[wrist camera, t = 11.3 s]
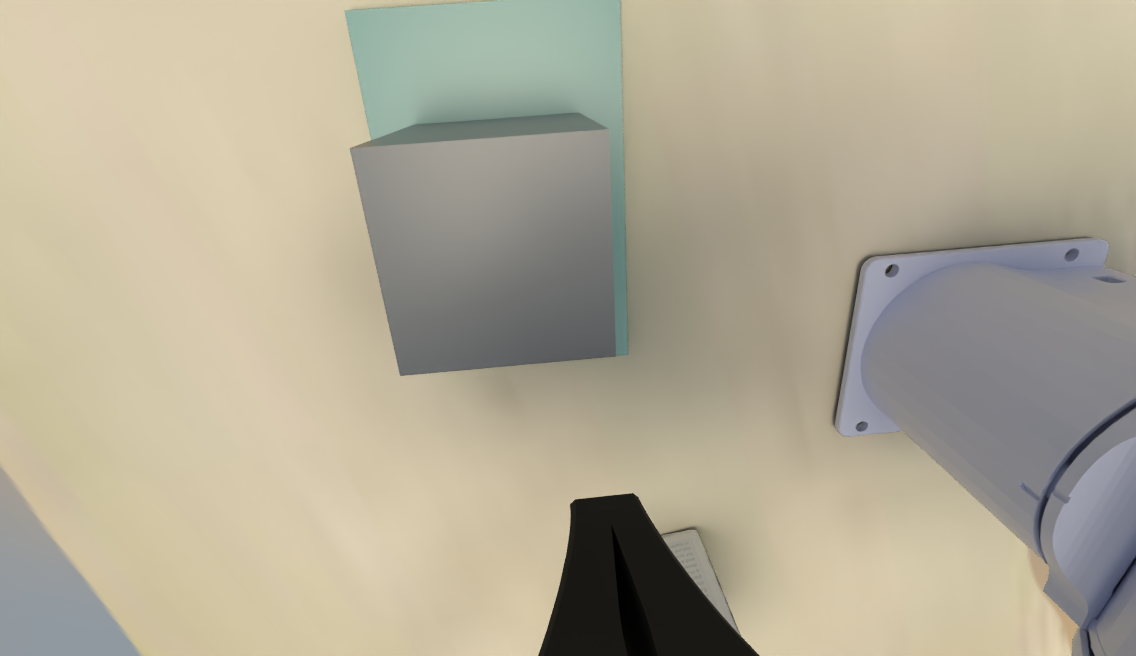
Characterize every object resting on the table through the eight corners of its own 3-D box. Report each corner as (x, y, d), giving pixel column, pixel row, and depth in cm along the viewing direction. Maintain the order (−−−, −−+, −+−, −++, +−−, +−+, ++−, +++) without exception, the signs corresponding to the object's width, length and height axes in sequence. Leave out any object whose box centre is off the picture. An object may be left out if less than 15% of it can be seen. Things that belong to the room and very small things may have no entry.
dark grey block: (579, 112, 17) (609, 129, 11) (587, 268, 19) (616, 356, 13) (414, 124, 17) (349, 148, 11) (440, 281, 19) (400, 375, 13)
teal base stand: (617, -5, 16) (663, -50, 11) (625, 347, 21) (660, 440, 16) (350, 13, 16) (258, -24, 11) (422, 366, 21) (385, 467, 16)
